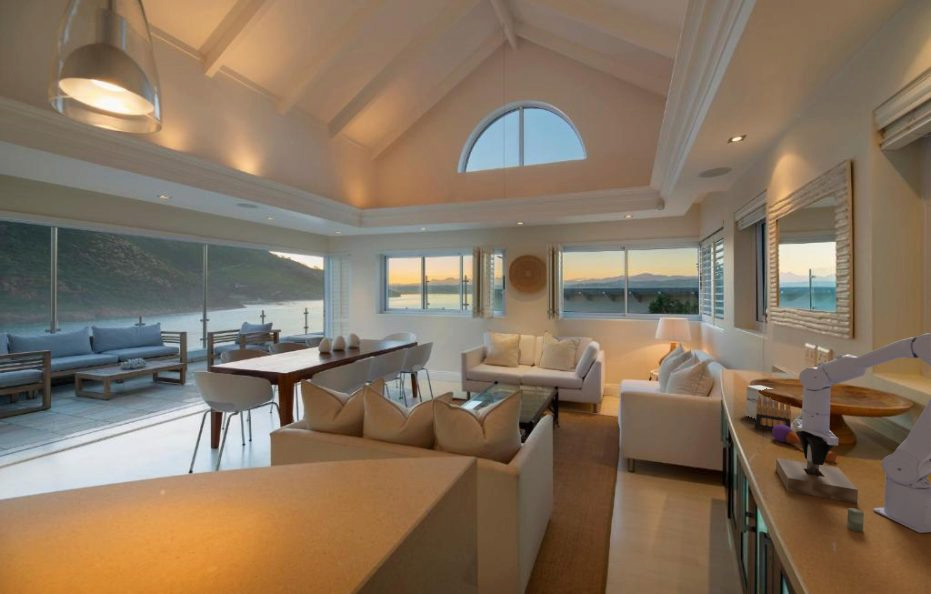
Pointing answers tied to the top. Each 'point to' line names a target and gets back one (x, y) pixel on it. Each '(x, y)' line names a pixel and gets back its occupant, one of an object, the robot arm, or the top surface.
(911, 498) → the robot arm
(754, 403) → the supplement box
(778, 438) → the purple and brown maraca
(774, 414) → the ammunition clip
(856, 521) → the green rectangular block
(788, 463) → the hole board
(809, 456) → the long pin
